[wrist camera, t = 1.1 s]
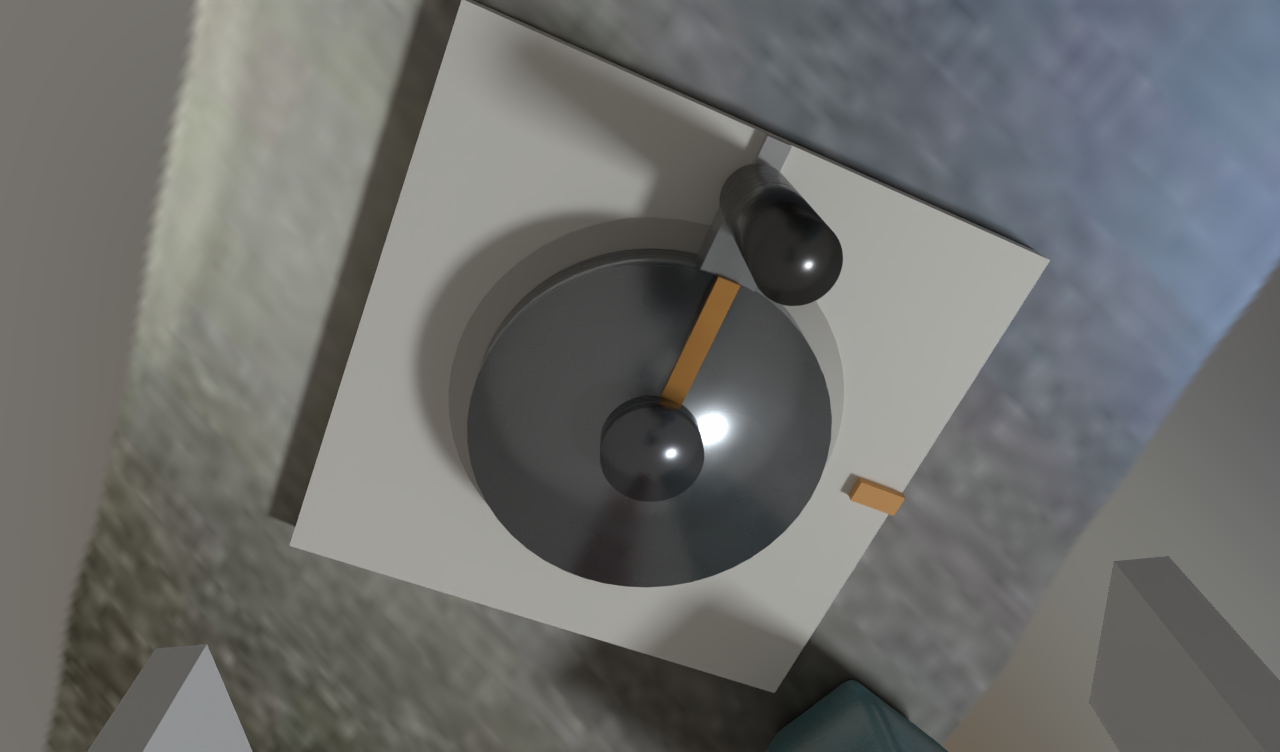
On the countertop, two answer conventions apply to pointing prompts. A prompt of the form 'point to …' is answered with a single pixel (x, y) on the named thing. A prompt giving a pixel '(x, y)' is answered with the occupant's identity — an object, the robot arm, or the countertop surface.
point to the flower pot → (852, 726)
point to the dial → (663, 397)
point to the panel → (609, 222)
